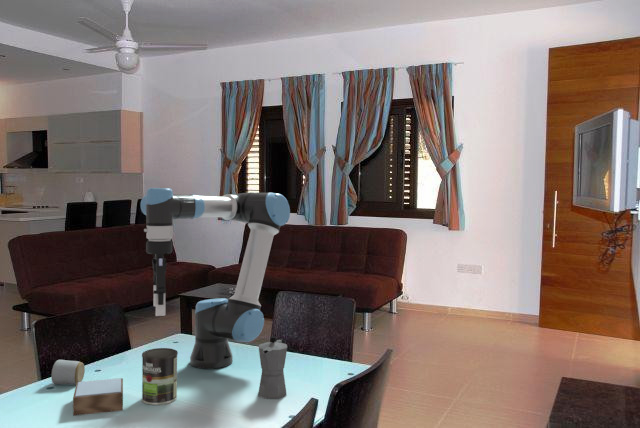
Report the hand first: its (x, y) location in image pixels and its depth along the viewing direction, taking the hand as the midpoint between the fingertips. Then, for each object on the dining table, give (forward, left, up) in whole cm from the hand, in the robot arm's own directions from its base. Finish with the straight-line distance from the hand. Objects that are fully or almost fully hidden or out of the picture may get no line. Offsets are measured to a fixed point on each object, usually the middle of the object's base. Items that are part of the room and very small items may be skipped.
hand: (159, 310), depth 168 cm
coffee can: (0, 0, -27) cm, 27 cm away
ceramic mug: (+27, -23, -27) cm, 44 cm away
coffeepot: (-34, +5, -27) cm, 44 cm away
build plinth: (+17, 0, -27) cm, 32 cm away
